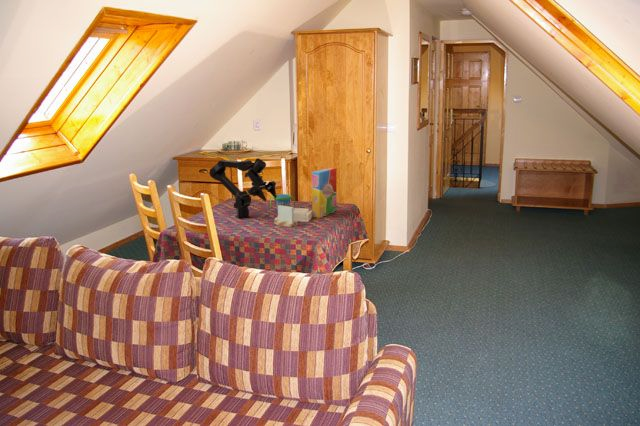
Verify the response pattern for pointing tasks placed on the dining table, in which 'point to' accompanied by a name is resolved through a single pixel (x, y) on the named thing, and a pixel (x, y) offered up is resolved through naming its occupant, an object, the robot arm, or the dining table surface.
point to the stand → (286, 223)
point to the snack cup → (282, 200)
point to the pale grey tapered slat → (286, 214)
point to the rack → (301, 215)
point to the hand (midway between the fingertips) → (270, 199)
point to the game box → (324, 192)
